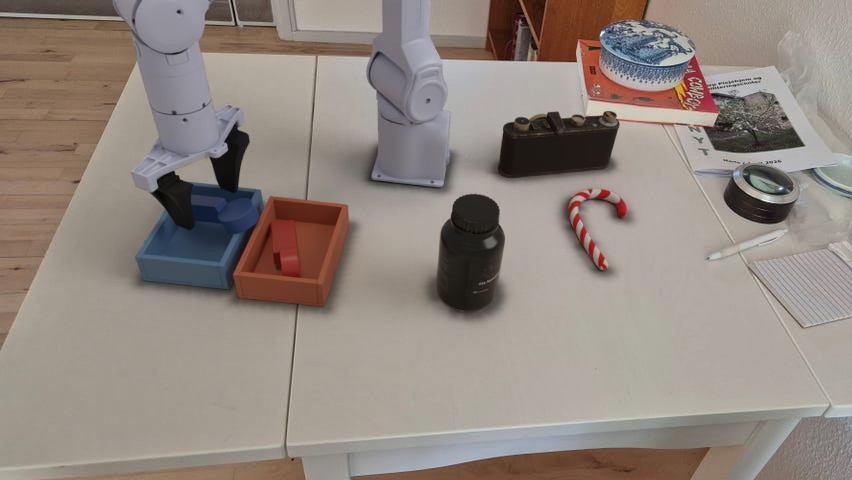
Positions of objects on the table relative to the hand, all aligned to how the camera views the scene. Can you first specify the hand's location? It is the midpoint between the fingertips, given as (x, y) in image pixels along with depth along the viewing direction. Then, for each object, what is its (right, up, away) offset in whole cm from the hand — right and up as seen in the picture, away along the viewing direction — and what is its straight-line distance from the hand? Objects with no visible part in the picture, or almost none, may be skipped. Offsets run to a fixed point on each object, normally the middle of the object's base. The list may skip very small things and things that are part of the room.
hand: (207, 206), depth 75 cm
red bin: (+10, -6, +1) cm, 12 cm away
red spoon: (+10, -5, -1) cm, 12 cm away
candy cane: (+46, -2, +9) cm, 47 cm away
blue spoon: (+2, -1, 0) cm, 2 cm away
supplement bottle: (+29, -10, 0) cm, 31 cm away
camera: (+41, +8, +19) cm, 46 cm away
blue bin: (0, -4, +1) cm, 4 cm away
